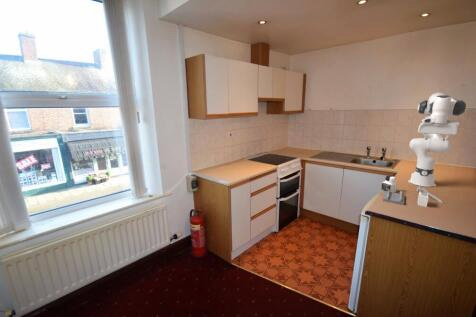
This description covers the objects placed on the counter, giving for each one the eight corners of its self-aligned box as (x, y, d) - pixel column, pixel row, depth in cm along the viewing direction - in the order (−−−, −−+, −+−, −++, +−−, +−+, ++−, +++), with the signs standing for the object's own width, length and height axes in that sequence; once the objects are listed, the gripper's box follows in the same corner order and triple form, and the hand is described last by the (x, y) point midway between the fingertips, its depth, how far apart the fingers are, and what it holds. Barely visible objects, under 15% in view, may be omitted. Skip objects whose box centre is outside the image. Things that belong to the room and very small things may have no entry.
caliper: (416, 192, 175) (417, 184, 173) (417, 192, 175) (419, 184, 173) (442, 203, 155) (443, 194, 153) (443, 203, 155) (445, 194, 154)
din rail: (387, 191, 172) (388, 189, 171) (401, 193, 167) (401, 191, 166) (386, 199, 158) (386, 196, 157) (401, 202, 153) (401, 199, 152)
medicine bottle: (380, 190, 179) (382, 175, 176) (387, 188, 181) (389, 174, 178) (389, 193, 172) (391, 178, 169) (395, 192, 175) (398, 177, 172)
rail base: (384, 192, 173) (385, 191, 173) (403, 196, 166) (404, 194, 166) (382, 200, 159) (383, 198, 159) (403, 204, 152) (404, 202, 152)
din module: (417, 201, 158) (419, 191, 156) (425, 202, 155) (427, 192, 154) (417, 205, 152) (419, 195, 150) (426, 207, 149) (428, 196, 147)
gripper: (459, 120, 148) (454, 141, 151) (419, 119, 160) (416, 138, 163) (460, 120, 143) (456, 142, 146) (419, 119, 155) (416, 139, 158)
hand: (434, 140), depth 154 cm, fingers open, 8 cm apart
